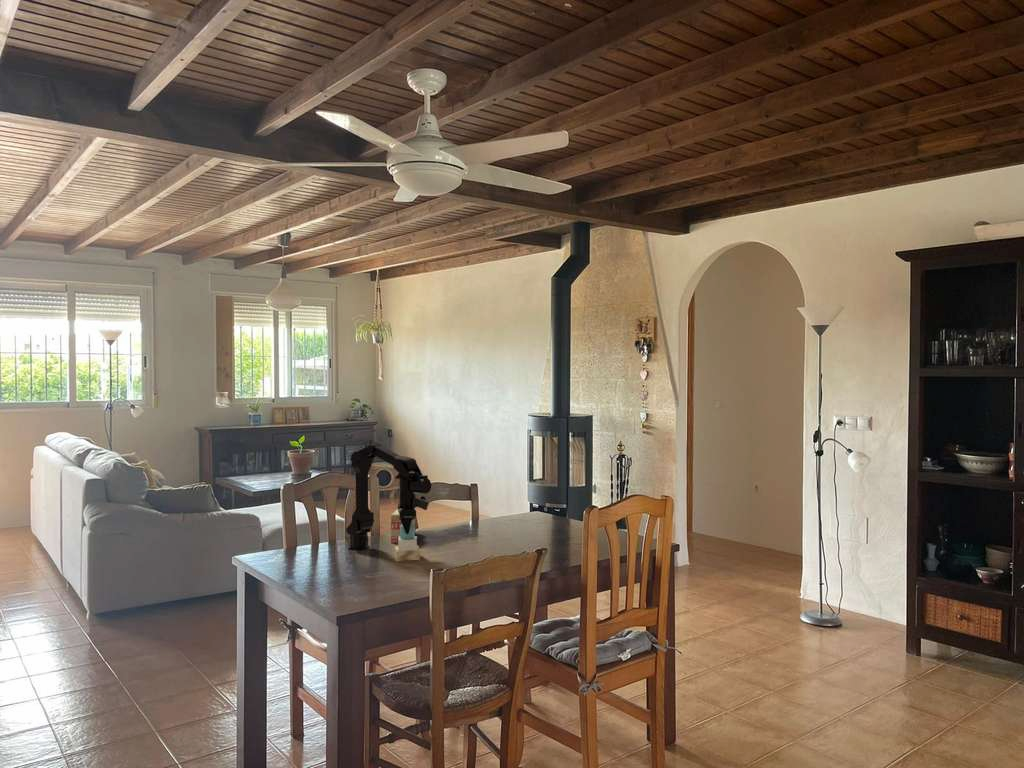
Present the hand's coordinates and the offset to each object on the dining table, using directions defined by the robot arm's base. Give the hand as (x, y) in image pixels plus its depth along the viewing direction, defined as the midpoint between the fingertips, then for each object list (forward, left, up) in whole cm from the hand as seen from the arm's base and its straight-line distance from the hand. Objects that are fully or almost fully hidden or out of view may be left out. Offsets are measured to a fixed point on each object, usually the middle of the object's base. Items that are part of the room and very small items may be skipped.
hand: (406, 531), depth 302 cm
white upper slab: (0, 0, -7) cm, 7 cm away
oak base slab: (0, 0, -11) cm, 11 cm away
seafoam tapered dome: (0, 0, -3) cm, 3 cm away
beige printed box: (-16, +33, -11) cm, 38 cm away
